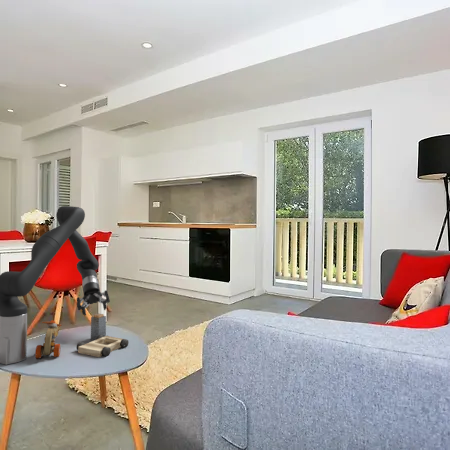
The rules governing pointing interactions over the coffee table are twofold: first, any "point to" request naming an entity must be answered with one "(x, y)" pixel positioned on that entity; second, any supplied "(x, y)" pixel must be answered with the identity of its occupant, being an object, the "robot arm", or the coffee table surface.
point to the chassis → (101, 346)
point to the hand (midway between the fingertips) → (94, 311)
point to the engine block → (98, 326)
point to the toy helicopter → (49, 341)
